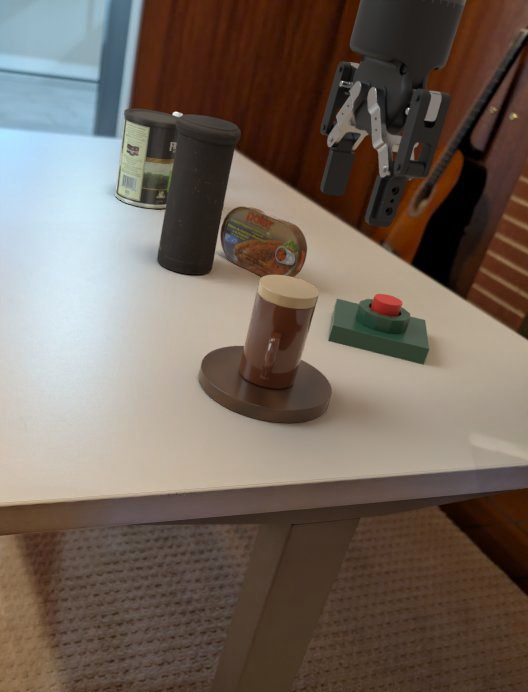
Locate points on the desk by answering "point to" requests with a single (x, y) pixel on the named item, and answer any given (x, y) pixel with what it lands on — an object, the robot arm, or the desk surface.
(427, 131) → the robot arm
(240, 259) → the tin
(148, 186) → the coffee can
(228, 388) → the turntable
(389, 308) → the button
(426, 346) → the button block
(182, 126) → the container
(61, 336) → the desk surface
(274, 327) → the mug
